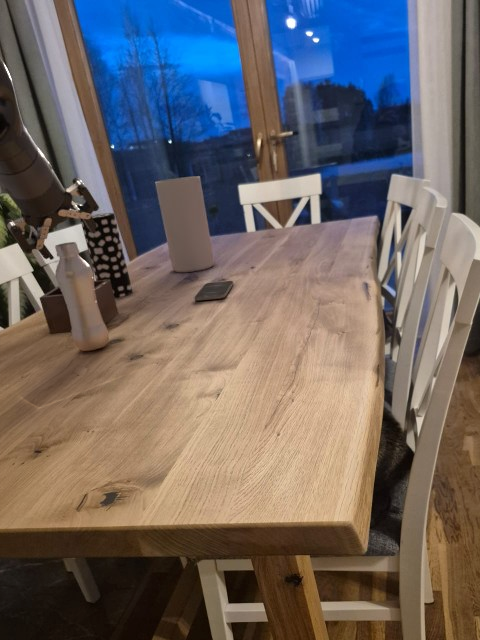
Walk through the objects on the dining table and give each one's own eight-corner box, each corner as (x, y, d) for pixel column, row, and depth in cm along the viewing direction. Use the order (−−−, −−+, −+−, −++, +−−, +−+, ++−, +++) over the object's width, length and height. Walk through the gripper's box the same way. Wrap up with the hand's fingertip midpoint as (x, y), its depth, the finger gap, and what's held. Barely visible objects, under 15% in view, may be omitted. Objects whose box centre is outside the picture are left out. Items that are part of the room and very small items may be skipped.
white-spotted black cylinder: (125, 288, 158) (106, 212, 150) (137, 292, 152) (119, 213, 143) (95, 295, 154) (75, 218, 145) (107, 300, 148) (86, 219, 139)
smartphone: (233, 280, 149) (224, 295, 135) (234, 283, 149) (225, 298, 135) (205, 283, 149) (193, 298, 136) (205, 286, 150) (193, 301, 136)
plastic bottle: (70, 351, 112) (39, 247, 104) (102, 340, 117) (75, 239, 108) (85, 357, 108) (54, 249, 100) (117, 346, 112) (90, 241, 104)
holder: (50, 333, 125) (39, 297, 122) (70, 317, 136) (61, 284, 132) (101, 328, 125) (91, 292, 121) (118, 313, 135) (109, 279, 132)
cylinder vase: (202, 261, 181) (187, 176, 171) (222, 265, 172) (207, 176, 161) (166, 270, 175) (148, 182, 164) (185, 275, 165) (167, 182, 155)
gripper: (56, 138, 89) (94, 207, 104) (-27, 187, 86) (25, 250, 101) (81, 168, 87) (116, 234, 102) (-3, 219, 84) (46, 279, 99)
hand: (70, 242), depth 101 cm, fingers open, 8 cm apart
